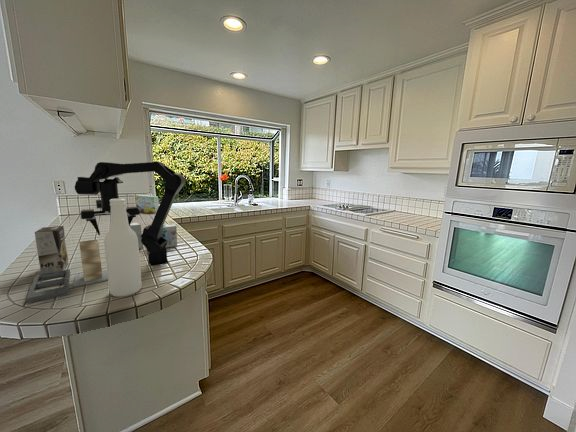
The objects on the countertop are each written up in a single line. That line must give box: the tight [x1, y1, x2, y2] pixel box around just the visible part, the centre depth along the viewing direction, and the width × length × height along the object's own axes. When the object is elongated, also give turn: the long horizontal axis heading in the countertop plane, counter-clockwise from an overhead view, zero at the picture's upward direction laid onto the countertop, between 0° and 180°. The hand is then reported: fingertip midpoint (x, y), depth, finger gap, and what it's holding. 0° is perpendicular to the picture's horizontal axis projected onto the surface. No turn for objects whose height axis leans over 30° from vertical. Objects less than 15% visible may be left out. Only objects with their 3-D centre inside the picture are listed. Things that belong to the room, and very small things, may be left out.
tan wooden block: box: [78, 239, 103, 281], centre depth 88 cm, size 5×5×13 cm
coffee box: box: [34, 225, 70, 274], centre depth 95 cm, size 9×6×16 cm
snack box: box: [134, 194, 160, 215], centre depth 220 cm, size 21×6×15 cm, turn 72°
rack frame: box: [25, 268, 71, 304], centre depth 83 cm, size 9×20×2 cm, turn 39°
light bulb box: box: [162, 223, 178, 249], centre depth 127 cm, size 11×7×11 cm, turn 129°
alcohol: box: [103, 198, 143, 298], centre depth 78 cm, size 9×9×30 cm
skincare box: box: [130, 222, 144, 250], centre depth 123 cm, size 6×4×12 cm
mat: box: [74, 269, 108, 288], centre depth 90 cm, size 10×10×1 cm
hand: (113, 233), depth 101 cm, fingers open, 9 cm apart
